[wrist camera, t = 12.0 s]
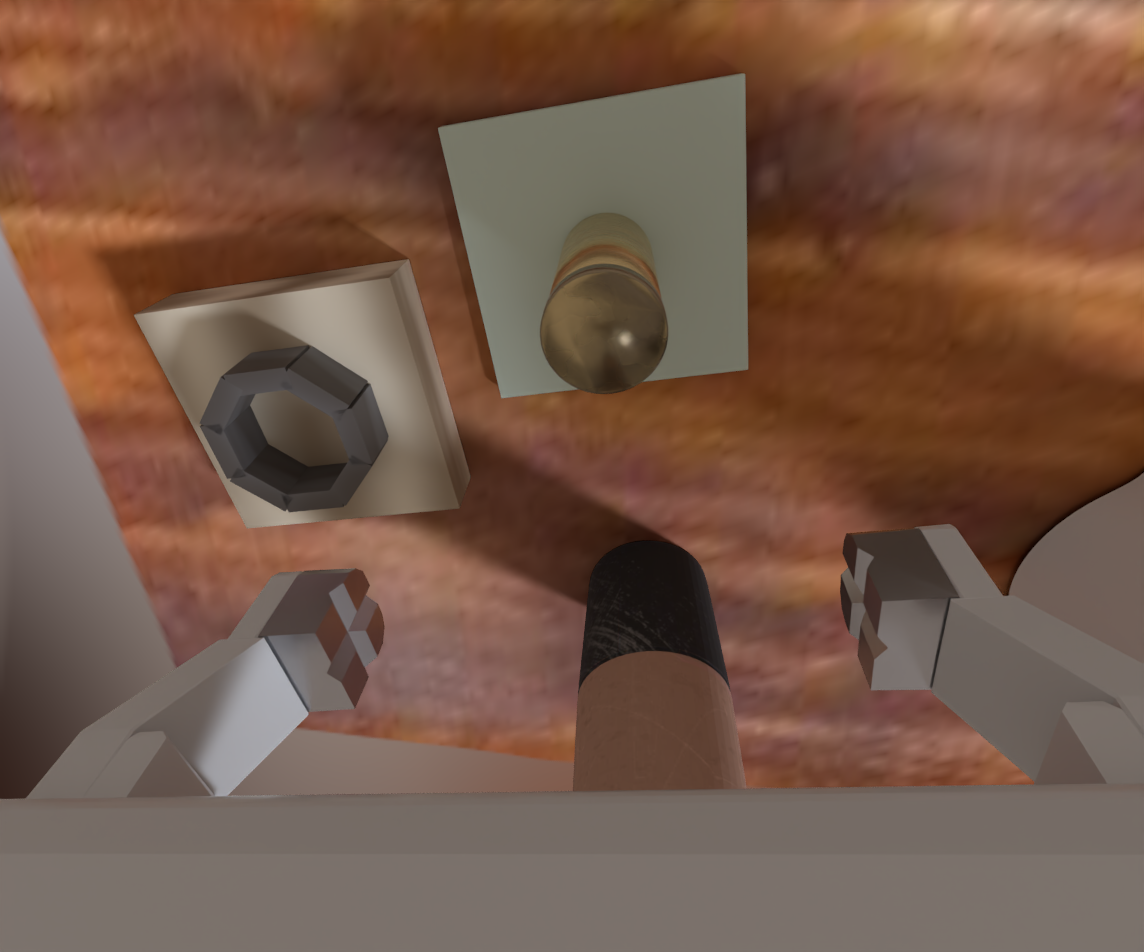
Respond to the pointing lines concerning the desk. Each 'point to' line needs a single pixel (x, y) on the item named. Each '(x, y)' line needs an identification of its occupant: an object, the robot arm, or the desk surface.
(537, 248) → the sage pad
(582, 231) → the brass peg
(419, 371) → the beige base with ring
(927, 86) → the desk surface
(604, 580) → the travel mug
